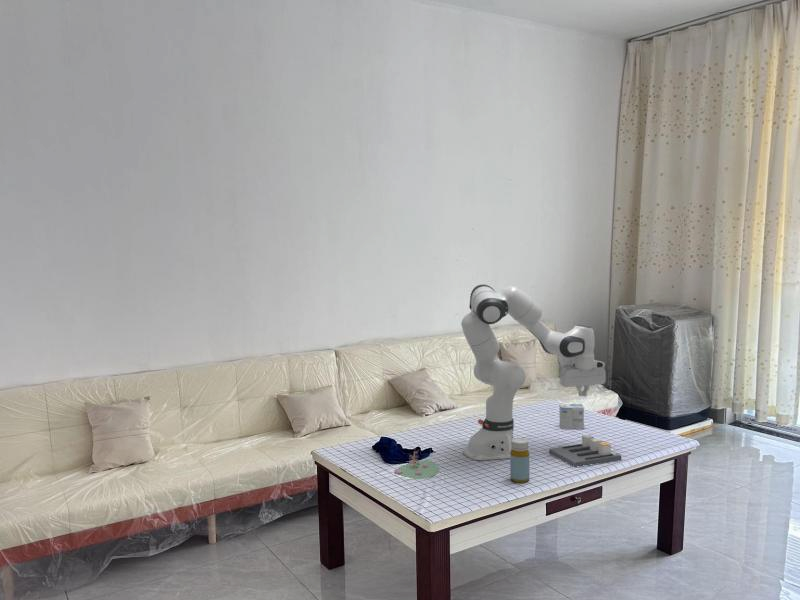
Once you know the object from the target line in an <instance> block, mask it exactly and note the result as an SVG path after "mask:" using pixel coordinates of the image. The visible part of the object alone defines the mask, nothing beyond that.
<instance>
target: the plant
mask: <svg viewBox="0 0 800 600" xmlns="http://www.w3.org/2000/svg"><path fill="white" fill-rule="evenodd" d="M419 451H420V450H416V447H414V451H413V455H412V454H410V455H409V458H408V459H409V461H408V462H409V463H408V464H406V465H403V466H401V467H399V468H398V469H395V470H394V471H395V472H394V473H395V474H398V475H401V476H404V477H409V478H415V479H414V480H425V479H429V478H433V477H435V476H436V475H438V473H439V471H440V468H439V466H438V464H437V463H436V462H434V461H433V460H419V459H417V458H419V457H420V456H419V454H418V453H419Z"/></svg>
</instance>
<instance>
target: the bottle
mask: <svg viewBox="0 0 800 600" xmlns="http://www.w3.org/2000/svg"><path fill="white" fill-rule="evenodd" d="M511 446H512V447H511V448H512V449H511V452H510V458H509V459H510V460H509V461H510V463H509V464H510V467H509V468H510V469H509V472H510V473H509V475H510V480H511V481H512V480H513V482H514V481H515V483H518V482H524V483H526V481H527V482H528V481H529V480H530V450H529V440H528V439H527V438H523V437H517V438H514V439H512V440H511Z"/></svg>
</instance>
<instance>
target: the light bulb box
mask: <svg viewBox="0 0 800 600" xmlns="http://www.w3.org/2000/svg"><path fill="white" fill-rule="evenodd" d="M584 414H585V408H584V406H583V404H582V403H559V427H560V429H561V430H585V415H584Z"/></svg>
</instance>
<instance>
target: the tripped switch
mask: <svg viewBox="0 0 800 600" xmlns="http://www.w3.org/2000/svg"><path fill="white" fill-rule="evenodd" d="M611 446H612V444H611V443H608V442H605V441H604V442H602V443H599V446H598V454H600V455H608V454H611V451H612V450H611V448H612V447H611Z"/></svg>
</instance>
